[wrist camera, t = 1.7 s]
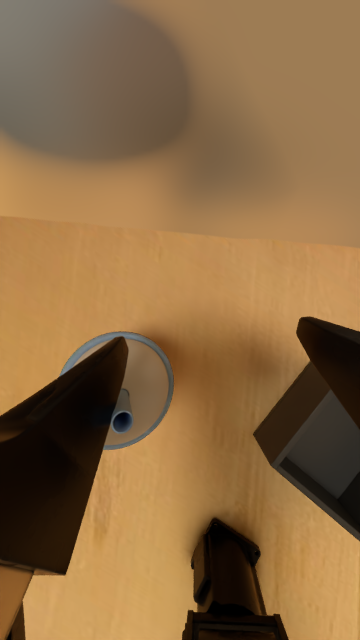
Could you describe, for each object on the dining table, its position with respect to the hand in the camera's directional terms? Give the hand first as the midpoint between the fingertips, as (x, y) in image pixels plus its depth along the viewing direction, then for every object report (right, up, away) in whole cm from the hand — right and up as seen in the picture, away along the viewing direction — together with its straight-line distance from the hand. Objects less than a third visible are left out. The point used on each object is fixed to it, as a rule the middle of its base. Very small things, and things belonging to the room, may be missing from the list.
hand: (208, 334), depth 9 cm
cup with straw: (-10, -6, +15) cm, 19 cm away
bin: (+17, -13, +13) cm, 25 cm away
